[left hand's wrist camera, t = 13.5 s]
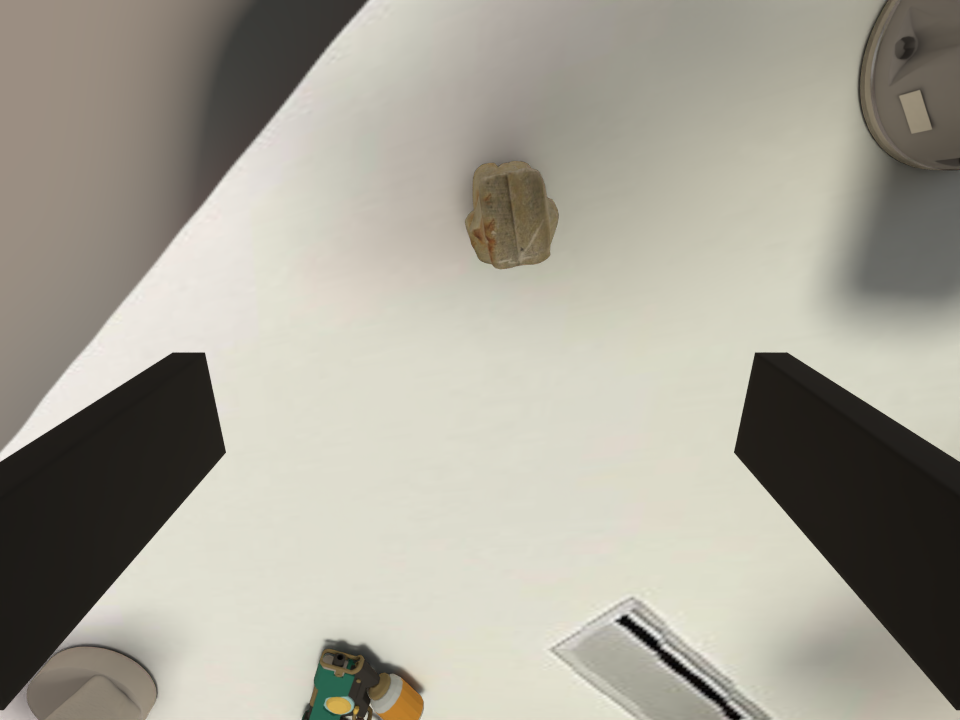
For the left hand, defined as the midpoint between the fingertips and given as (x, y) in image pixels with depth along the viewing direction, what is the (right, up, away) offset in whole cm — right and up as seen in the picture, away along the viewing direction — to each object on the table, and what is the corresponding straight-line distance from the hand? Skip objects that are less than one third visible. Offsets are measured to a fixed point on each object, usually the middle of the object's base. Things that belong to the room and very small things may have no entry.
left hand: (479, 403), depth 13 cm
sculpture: (+2, +13, +28) cm, 31 cm away
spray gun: (-15, -39, +49) cm, 64 cm away
